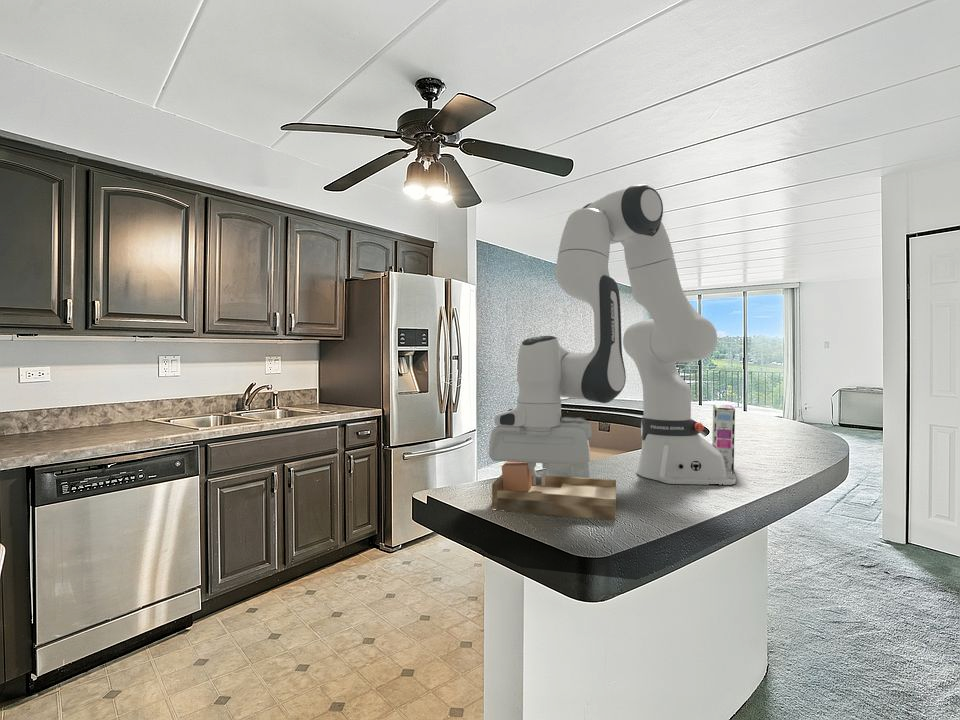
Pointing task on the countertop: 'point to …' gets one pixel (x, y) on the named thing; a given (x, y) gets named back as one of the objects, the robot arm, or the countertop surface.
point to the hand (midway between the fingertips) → (539, 484)
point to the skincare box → (569, 470)
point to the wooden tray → (560, 497)
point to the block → (516, 476)
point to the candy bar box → (724, 433)
